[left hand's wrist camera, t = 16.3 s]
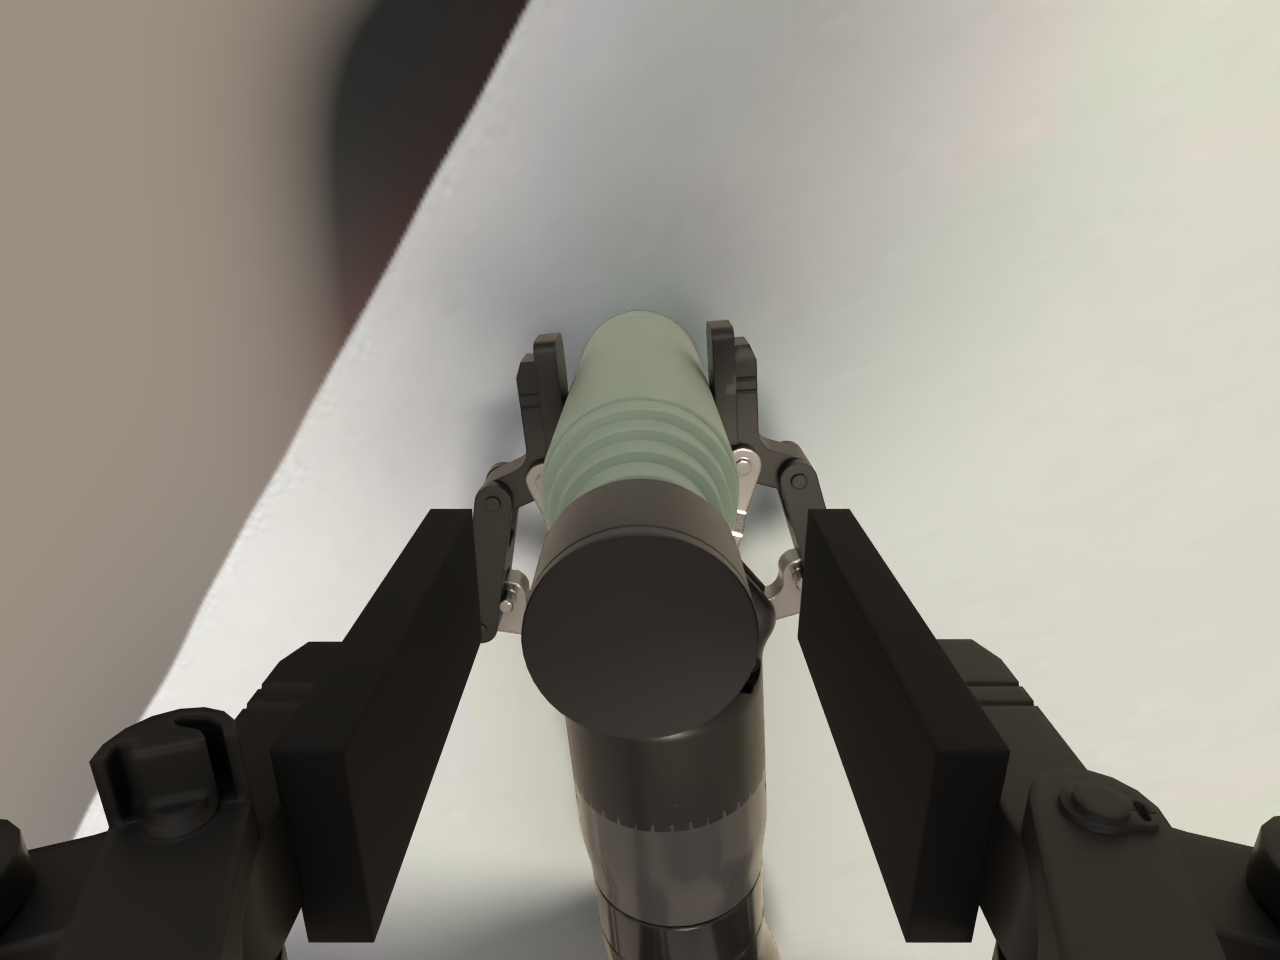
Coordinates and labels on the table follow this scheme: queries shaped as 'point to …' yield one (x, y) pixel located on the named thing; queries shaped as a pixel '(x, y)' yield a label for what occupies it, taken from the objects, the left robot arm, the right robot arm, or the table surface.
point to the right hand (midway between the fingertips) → (632, 333)
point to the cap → (640, 612)
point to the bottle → (640, 419)
